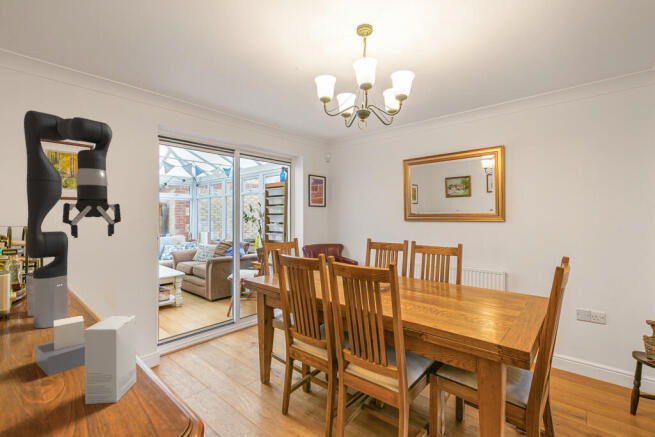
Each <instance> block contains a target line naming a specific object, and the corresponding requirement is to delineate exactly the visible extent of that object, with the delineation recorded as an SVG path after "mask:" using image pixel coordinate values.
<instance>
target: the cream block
mask: <svg viewBox="0 0 655 437" xmlns="http://www.w3.org/2000/svg"><path fill="white" fill-rule="evenodd" d="M84 333H85V320H84V317H83V315H77V316H71V317H68V318H66V319H60V320H54V326H53V341H54V350H57V349H61V348H66V347H70V346H75V345H79V344H83V343H84Z"/></svg>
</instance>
